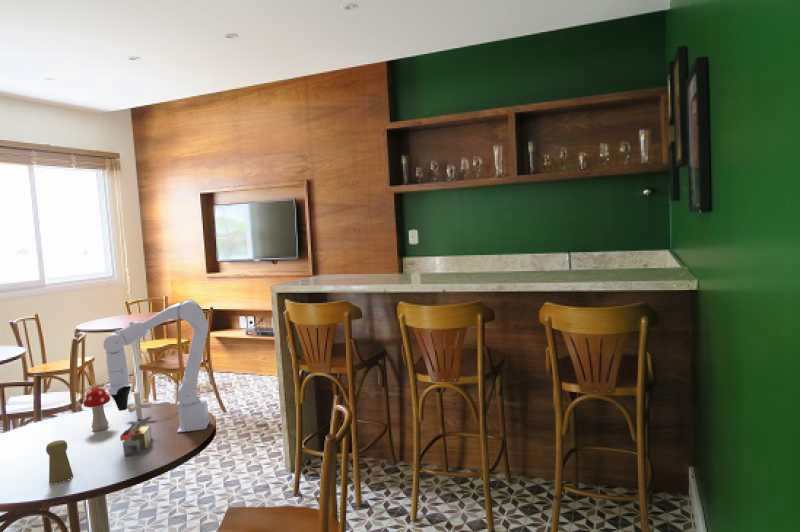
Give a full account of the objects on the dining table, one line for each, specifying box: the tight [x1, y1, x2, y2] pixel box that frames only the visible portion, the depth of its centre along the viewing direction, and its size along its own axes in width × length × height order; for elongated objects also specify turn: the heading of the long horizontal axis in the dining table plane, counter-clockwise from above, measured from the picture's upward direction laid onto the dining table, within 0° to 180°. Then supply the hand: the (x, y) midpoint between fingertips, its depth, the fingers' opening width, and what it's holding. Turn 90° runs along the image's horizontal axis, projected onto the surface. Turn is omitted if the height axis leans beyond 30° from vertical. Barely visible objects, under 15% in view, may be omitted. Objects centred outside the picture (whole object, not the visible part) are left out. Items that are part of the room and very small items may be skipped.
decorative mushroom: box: [83, 386, 111, 432], centre depth 204 cm, size 10×9×15 cm
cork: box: [45, 439, 74, 484], centre depth 162 cm, size 6×6×11 cm
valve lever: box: [119, 421, 142, 442], centre depth 177 cm, size 12×3×1 cm, turn 7°
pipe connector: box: [126, 391, 153, 420], centre depth 211 cm, size 10×10×10 cm
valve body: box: [122, 424, 153, 457], centre depth 183 cm, size 6×14×6 cm, turn 9°
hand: (122, 409), depth 189 cm, fingers closed
